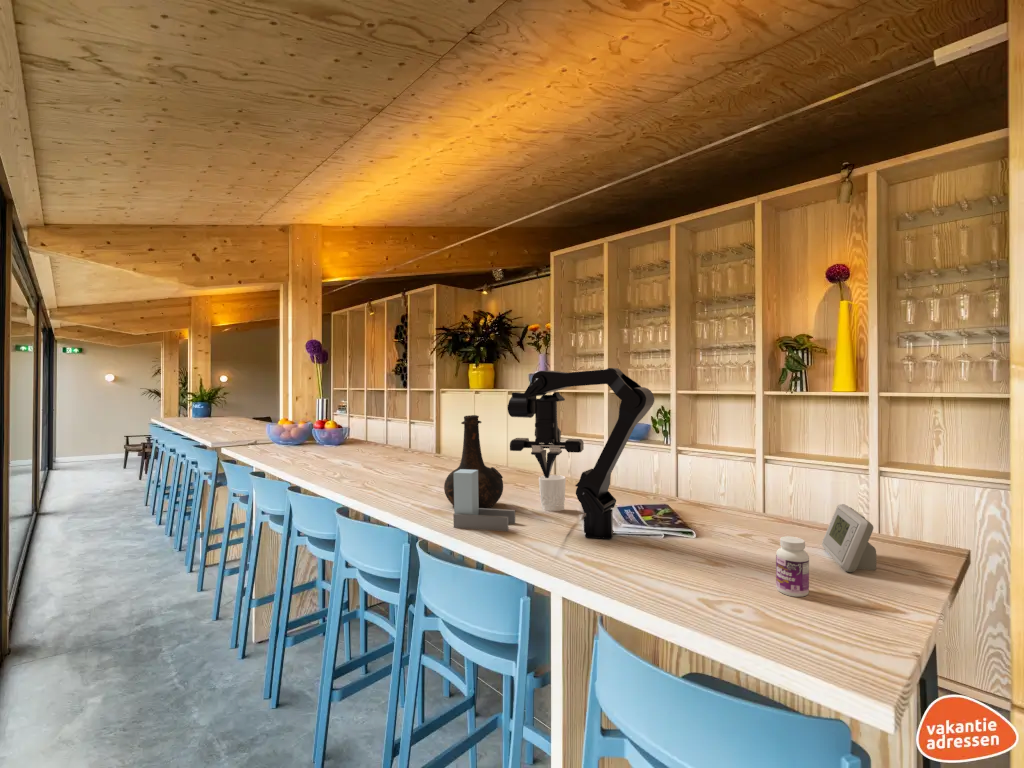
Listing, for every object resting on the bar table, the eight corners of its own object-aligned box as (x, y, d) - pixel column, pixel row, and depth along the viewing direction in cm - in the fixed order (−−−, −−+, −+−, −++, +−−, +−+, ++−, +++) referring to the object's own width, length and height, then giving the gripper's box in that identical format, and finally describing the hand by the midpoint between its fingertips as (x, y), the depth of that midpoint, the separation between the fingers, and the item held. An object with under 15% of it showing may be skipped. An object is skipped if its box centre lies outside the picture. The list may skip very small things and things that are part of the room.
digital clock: (821, 547, 122) (821, 500, 122) (868, 552, 118) (868, 504, 118) (825, 571, 108) (825, 518, 107) (879, 578, 103) (879, 524, 103)
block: (478, 521, 144) (478, 469, 143) (472, 527, 139) (471, 473, 138) (461, 520, 145) (460, 469, 145) (454, 525, 140) (453, 472, 140)
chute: (515, 526, 142) (515, 510, 142) (507, 534, 135) (507, 517, 135) (464, 522, 146) (464, 507, 146) (453, 530, 139) (453, 514, 139)
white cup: (566, 507, 160) (565, 474, 160) (566, 515, 153) (565, 480, 152) (539, 507, 161) (539, 474, 161) (538, 514, 153) (537, 479, 153)
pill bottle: (771, 591, 98) (771, 539, 98) (781, 583, 102) (781, 533, 102) (803, 600, 94) (803, 546, 94) (813, 591, 98) (813, 539, 98)
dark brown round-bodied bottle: (502, 515, 153) (500, 417, 153) (440, 515, 154) (438, 418, 153) (504, 500, 171) (503, 412, 171) (449, 500, 172) (447, 413, 171)
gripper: (586, 416, 146) (586, 473, 146) (519, 415, 151) (520, 470, 151) (580, 419, 135) (580, 481, 135) (508, 419, 140) (509, 478, 140)
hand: (547, 477), depth 141 cm, fingers closed
